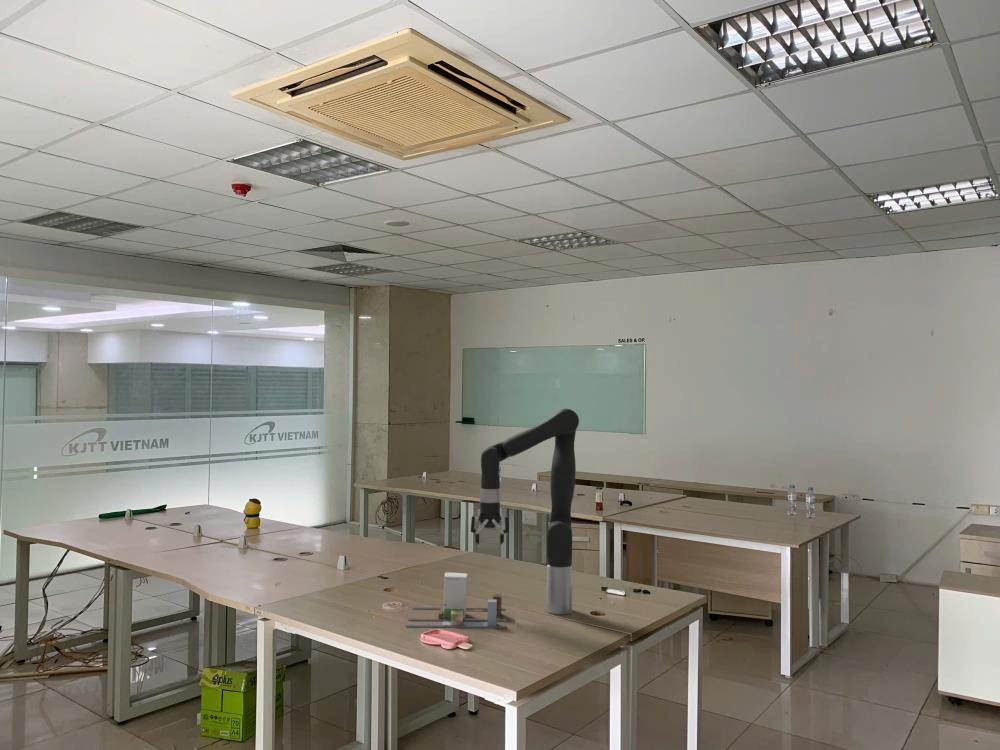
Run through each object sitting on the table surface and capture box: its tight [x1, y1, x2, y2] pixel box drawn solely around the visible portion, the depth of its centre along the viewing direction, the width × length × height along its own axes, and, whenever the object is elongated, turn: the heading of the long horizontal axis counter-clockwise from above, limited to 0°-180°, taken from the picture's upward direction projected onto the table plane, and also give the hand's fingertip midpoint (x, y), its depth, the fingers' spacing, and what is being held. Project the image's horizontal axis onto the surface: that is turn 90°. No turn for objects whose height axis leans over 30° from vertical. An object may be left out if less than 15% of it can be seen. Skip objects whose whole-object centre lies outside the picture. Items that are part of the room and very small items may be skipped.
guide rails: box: [405, 606, 508, 629], centre depth 246 cm, size 34×22×2 cm, turn 91°
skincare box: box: [442, 572, 468, 618], centre depth 249 cm, size 8×7×16 cm
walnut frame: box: [438, 593, 503, 619], centre depth 250 cm, size 22×12×8 cm, turn 91°
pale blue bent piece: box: [441, 598, 497, 626], centre depth 240 cm, size 18×5×9 cm, turn 91°
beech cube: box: [451, 610, 464, 625], centre depth 239 cm, size 4×4×4 cm
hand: (489, 544), depth 261 cm, fingers open, 8 cm apart
